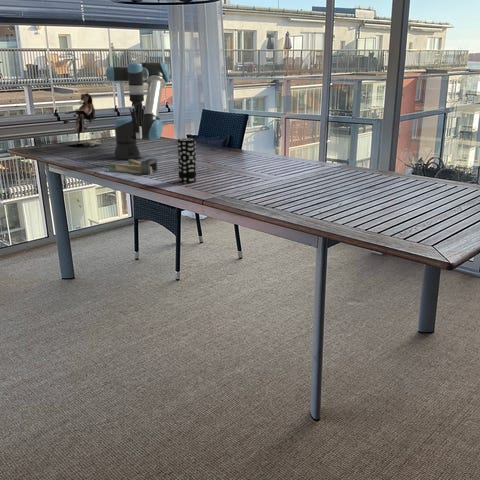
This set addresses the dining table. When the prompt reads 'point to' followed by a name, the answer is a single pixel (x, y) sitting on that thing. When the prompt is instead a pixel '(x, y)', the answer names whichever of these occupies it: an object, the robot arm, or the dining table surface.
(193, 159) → the white-spotted black cylinder
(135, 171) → the bar
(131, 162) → the tongs jaw
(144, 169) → the collar
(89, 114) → the figurine
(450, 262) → the dining table surface
